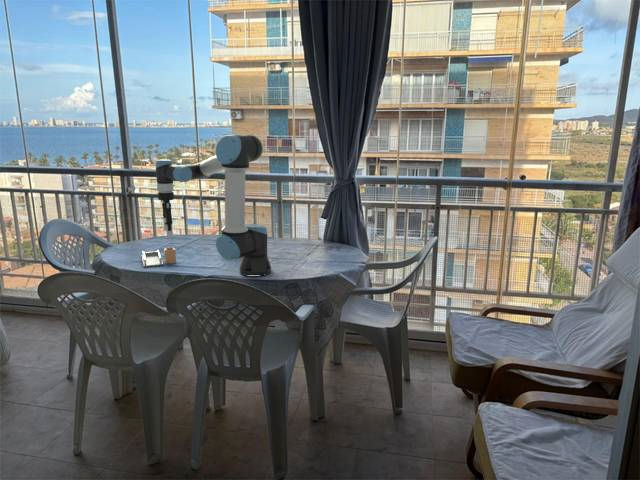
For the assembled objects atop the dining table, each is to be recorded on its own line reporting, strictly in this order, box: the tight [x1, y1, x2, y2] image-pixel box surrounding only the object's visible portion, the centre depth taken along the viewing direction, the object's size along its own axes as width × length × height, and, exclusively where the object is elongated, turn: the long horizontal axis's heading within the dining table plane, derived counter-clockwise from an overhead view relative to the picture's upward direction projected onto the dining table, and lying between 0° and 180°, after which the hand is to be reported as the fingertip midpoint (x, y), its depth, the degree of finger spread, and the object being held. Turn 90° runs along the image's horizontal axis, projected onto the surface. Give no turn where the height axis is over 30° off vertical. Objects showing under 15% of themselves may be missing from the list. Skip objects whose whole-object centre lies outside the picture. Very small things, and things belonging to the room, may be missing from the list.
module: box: [163, 247, 177, 265], centre depth 223 cm, size 4×5×8 cm
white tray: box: [141, 249, 164, 269], centre depth 225 cm, size 20×9×4 cm, turn 24°
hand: (168, 233), depth 221 cm, fingers open, 13 cm apart
